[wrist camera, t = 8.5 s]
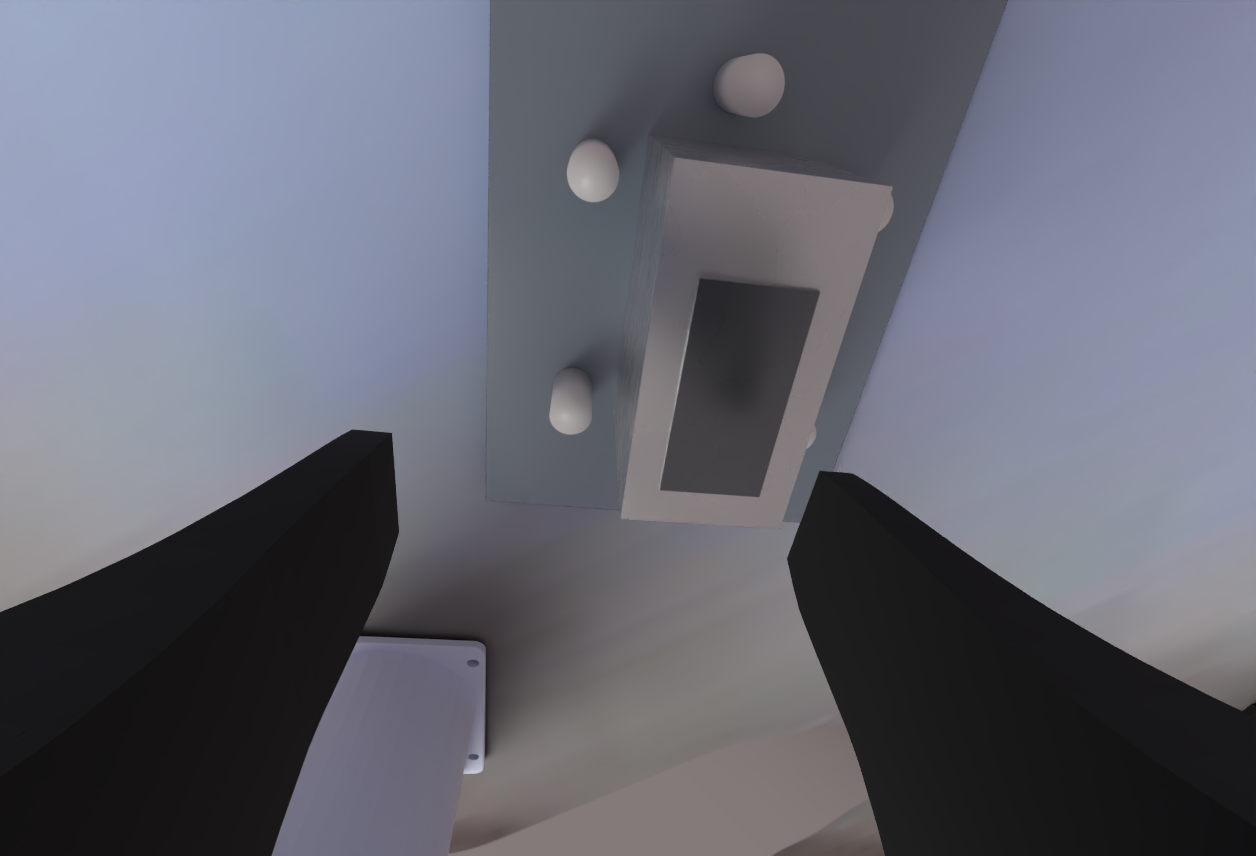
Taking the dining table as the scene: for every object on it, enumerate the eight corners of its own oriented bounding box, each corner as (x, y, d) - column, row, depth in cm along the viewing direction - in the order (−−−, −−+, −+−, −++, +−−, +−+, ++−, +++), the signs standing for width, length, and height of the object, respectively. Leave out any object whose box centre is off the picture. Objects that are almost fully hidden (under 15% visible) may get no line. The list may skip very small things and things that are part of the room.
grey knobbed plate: (806, 510, 22) (832, 561, 20) (489, 487, 21) (475, 539, 19) (988, 1, 14) (1068, -15, 12) (496, -88, 13) (474, -128, 11)
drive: (733, 419, 19) (781, 531, 14) (613, 409, 19) (620, 521, 14) (799, 154, 15) (895, 187, 10) (648, 134, 15) (675, 157, 10)
